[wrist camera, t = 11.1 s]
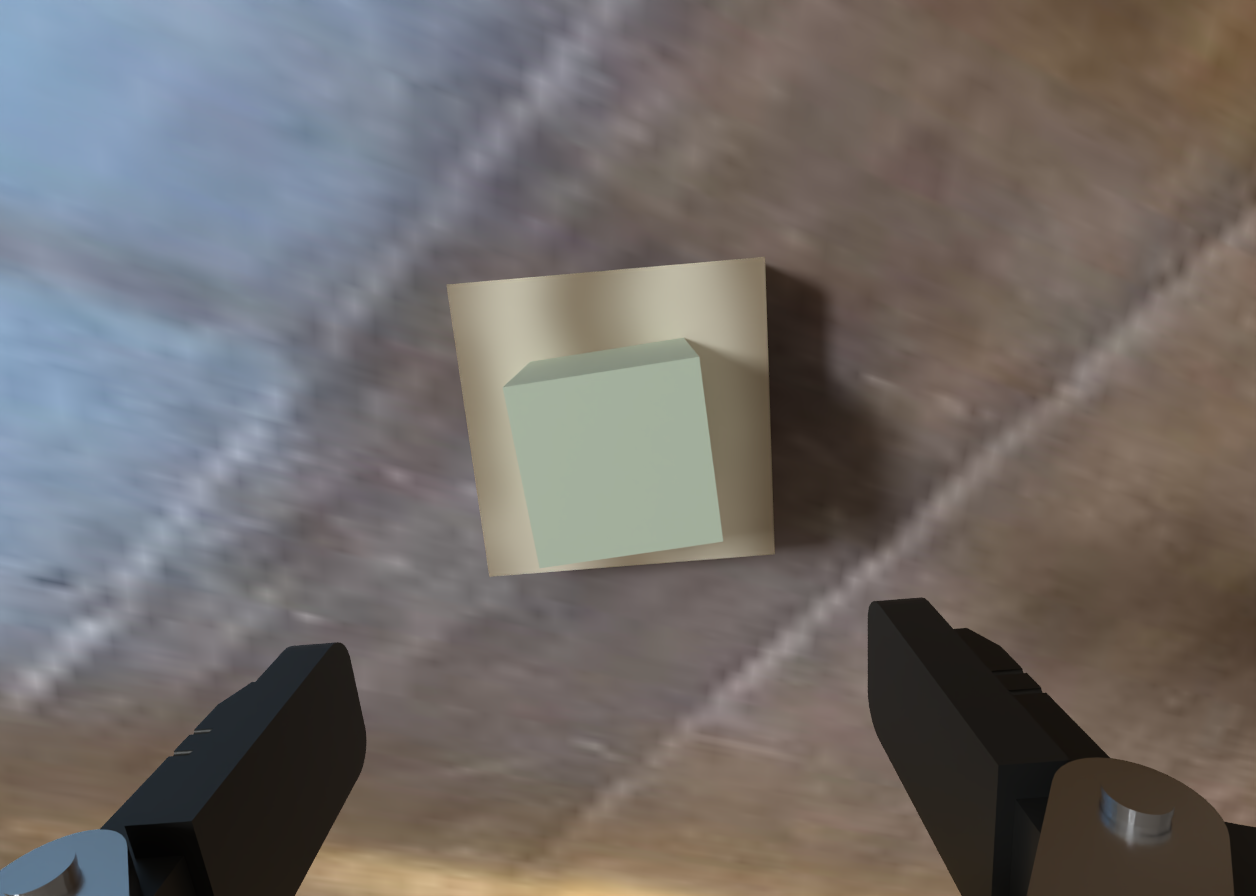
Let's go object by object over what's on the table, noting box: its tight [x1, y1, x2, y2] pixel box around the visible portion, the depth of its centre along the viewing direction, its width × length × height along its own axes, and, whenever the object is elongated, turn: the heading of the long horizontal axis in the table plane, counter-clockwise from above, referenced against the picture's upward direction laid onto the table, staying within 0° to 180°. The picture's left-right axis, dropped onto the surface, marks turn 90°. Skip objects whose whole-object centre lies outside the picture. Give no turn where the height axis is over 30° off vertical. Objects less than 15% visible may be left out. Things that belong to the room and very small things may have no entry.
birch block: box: [447, 257, 775, 577], centre depth 29 cm, size 12×12×4 cm
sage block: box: [503, 338, 723, 568], centre depth 24 cm, size 6×6×6 cm
